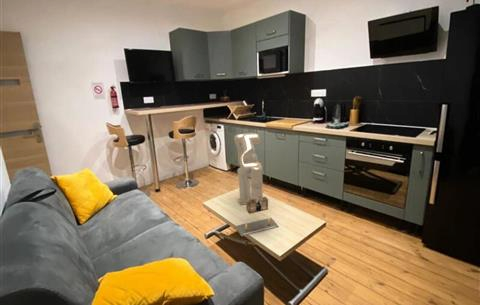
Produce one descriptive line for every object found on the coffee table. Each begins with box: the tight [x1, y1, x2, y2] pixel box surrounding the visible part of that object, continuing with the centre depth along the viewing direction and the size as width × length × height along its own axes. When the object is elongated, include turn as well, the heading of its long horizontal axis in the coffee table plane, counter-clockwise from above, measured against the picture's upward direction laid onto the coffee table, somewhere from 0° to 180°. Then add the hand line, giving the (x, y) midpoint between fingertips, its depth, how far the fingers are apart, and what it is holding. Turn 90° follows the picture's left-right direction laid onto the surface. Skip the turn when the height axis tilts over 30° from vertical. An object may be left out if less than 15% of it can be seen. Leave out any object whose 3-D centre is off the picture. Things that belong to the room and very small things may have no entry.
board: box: [235, 217, 280, 237], centre depth 167 cm, size 13×28×6 cm, turn 109°
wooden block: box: [246, 196, 269, 215], centre depth 161 cm, size 4×14×8 cm, turn 109°
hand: (257, 208), depth 162 cm, fingers closed on wooden block, 4 cm apart
